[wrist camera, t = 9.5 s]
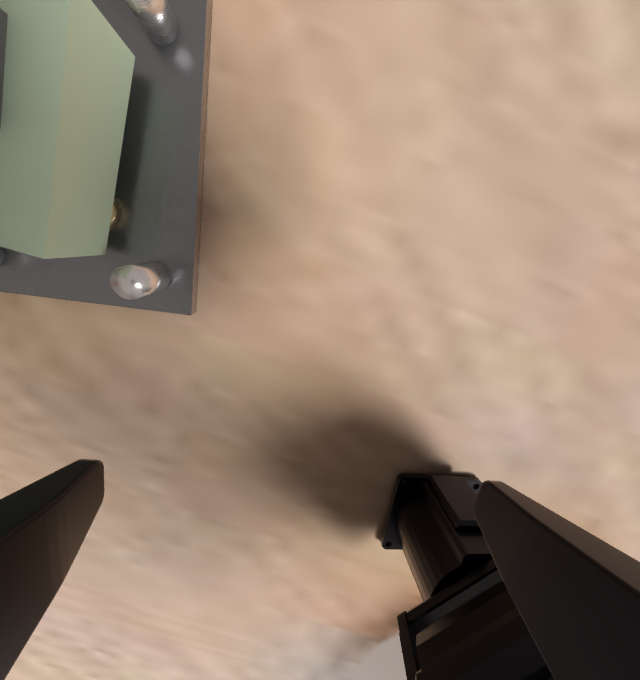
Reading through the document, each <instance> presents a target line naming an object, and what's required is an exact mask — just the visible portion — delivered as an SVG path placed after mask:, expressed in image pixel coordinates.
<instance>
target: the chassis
mask: <svg viewBox="0 0 640 680" xmlns="http://www.w3.org/2000/svg"><path fill="white" fill-rule="evenodd" d="M91 1H92V2H93V3H94V4H95V6H96V7H97V8H98V10H99V11H100V12H101V13H102V15H103V16H104V17H105V19H106V20H107V21H108V22H109V24H110V25H111V26H112V28H113V29H114V30H115V31H116V33H117V34H118V35H119V37H120V38H121V39H122V40H123V42H124V43H125V44H126V46H127V47H128V48H129V49H130V51H131V52H132V53H133V55H134V56H135V62H134V68H133V75H132V82H131V88H130V95H129V102H128V108H127V115H126V122H125V128H124V135H123V142H122V148H121V155H120V162H119V168H118V175H117V182H116V188H115V195H114V202H113V208H112V215H111V222H110V228H109V235H108V242H107V248H106V255H96V256H81V257H66V258H51V259H42V258H39V257H35V256H32V255H28V254H25V253H21V252H18V251H14V250H11V249H7V248H4V247H0V292H8V293H16V294H24V295H33V296H41V297H49V298H57V299H65V300H73V301H81V302H89V303H97V304H105V305H113V306H121V307H129V308H137V309H145V310H153V311H162V312H170V313H178V314H186V315H192V314H193V313H194V312H196V301H197V282H198V263H199V245H200V226H201V207H202V189H203V170H204V152H205V133H206V114H207V96H208V77H209V58H210V40H211V21H212V3H213V1H212V0H91Z"/></svg>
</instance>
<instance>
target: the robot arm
mask: <svg viewBox="0 0 640 680" xmlns="http://www.w3.org/2000/svg"><path fill="white" fill-rule="evenodd" d="M404 480H406V481H405V482H403V481H404ZM103 497H104V466H103V463H102V462H101V461H100V460H89V459H81V460H78V461H75V462H73V463H71V464H69V465H67V466H65V467H63V468H61V469H59V470H57V471H55V472H54V473H52V474H50V475H48V476H46V477H44V478H42V479H40V480H38V481H36V482H34V483H32V484H30V485H28V486H26V487H24V488H22V489H20V490H18V491H16V492H14V493H12V494H10V495H8V496H6V497H4V498H2V499H0V680H4V679H5V678H6V676H7V674H8V673H9V671H10V670H11V668H12V666H13V665H14V663H15V661H16V660H17V658H18V656H19V655H20V653H21V651H22V650H23V648H24V646H25V645H26V643H27V641H28V640H29V638H30V636H31V635H32V633H33V632H34V630H35V628H36V627H37V625H38V623H39V622H40V620H41V618H42V617H43V615H44V613H45V612H46V610H47V608H48V607H49V605H50V603H51V602H52V600H53V598H54V597H55V595H56V593H57V592H58V590H59V588H60V586H61V585H62V583H63V581H64V579H65V577H66V575H67V573H68V571H69V569H70V567H71V565H72V563H73V561H74V559H75V557H76V555H77V553H78V551H79V549H80V547H81V545H82V543H83V541H84V539H85V537H86V534H87V532H88V530H89V528H90V526H91V524H92V522H93V520H94V518H95V516H96V514H97V512H98V510H99V508H100V506H101V504H102V501H103ZM381 544H382V547H383V548H384V549H403V551H404V554H405V556H406V559H407V561H408V564H409V566H410V569H411V571H412V574H413V576H414V579H415V581H416V584H417V586H418V589H419V591H420V594H421V596H422V599H423V602H422V603H420V604H419V605H417V606H415V607H414V608H412V609H411V610H409V611H408V612H406V611H404V612H402V613H401V614H399V615H398V616H397V619H398V625H399V630H400V633H399V636H400V641H401V647H402V653H403V658H404V664H405V670H406V676H407V680H640V562H639V561H637V560H635V559H633V558H632V557H630V556H628V555H627V554H625V553H623V552H621V551H620V550H618V549H616V548H615V547H613V546H611V545H609V544H608V543H606V542H604V541H603V540H601V539H599V538H597V537H596V536H594V535H592V534H591V533H589V532H587V531H585V530H584V529H582V528H580V527H578V526H577V525H575V524H573V523H572V522H570V521H568V520H566V519H565V518H563V517H561V516H560V515H558V514H556V513H554V512H553V511H551V510H549V509H548V508H546V507H544V506H542V505H541V504H539V503H537V502H536V501H534V500H532V499H530V498H529V497H527V496H525V495H524V494H522V493H520V492H518V491H517V490H515V489H513V488H511V487H510V486H508V485H506V484H505V483H503V482H500V481H488V480H487V481H484V482H483V483H482V482H481V481H480V480H479V479H478V478H477V477H465V476H446V475H428V474H409V473H403V474H400V475H399V476H398V477H397V480H396V483H395V487H394V491H393V495H392V498H391V502H390V506H389V510H388V513H387V517H386V521H385V525H384V528H383V532H382V536H381Z"/></svg>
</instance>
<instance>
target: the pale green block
mask: <svg viewBox="0 0 640 680" xmlns="http://www.w3.org/2000/svg"><path fill="white" fill-rule="evenodd" d="M134 62H135V56H134V55H133V53H132V52H131V51H130V49H129V48H128V47H127V46H126V44H125V43H124V42H123V40H122V39H121V38H120V37H119V35H118V34H117V33H116V31H115V30H114V29H113V28H112V26H111V25H110V24H109V22H108V21H107V20H106V19H105V17H104V16H103V15H102V13H101V12H100V11H99V10H98V8H97V7H96V6H95V4H94V3H93V2H92V1H91V0H0V247H4V248H7V249H11V250H14V251H18V252H21V253H25V254H28V255H32V256H35V257H39V258H42V259H51V258H66V257H81V256H96V255H106V248H107V242H108V235H109V228H110V222H111V215H112V208H113V202H114V195H115V188H116V182H117V175H118V168H119V162H120V155H121V148H122V142H123V135H124V128H125V122H126V115H127V108H128V102H129V95H130V88H131V82H132V75H133V68H134Z"/></svg>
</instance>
